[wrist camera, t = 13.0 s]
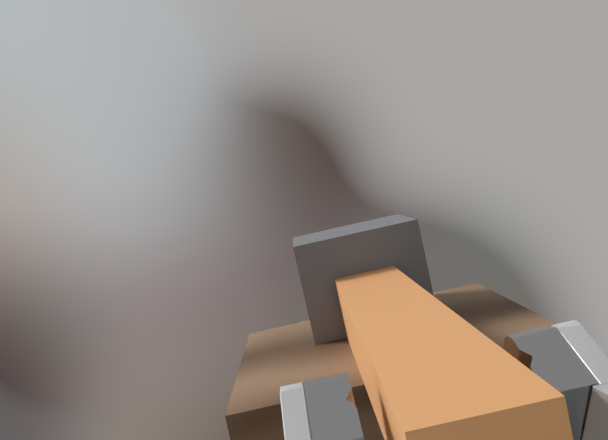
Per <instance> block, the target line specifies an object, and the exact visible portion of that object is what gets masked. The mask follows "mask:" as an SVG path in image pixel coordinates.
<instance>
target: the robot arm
mask: <svg viewBox="0 0 608 440" xmlns="http://www.w3.org/2000/svg"><path fill="white" fill-rule="evenodd" d="M504 349H505V351H506V352H508V353H509V354H510V355H512V356H513V357H514V358H516V359H517V360H518V361H520V362H521V363H522V364H523V365H525V366H526V367H527V368H529V369H530V370H531V371H533V372H534V373H535V374H537V375H538V376H539V377H541V378H542V379H543V380H545V381H546V382H547V383H548V384H550V385H551V386H552V387H554V388H555V389H556V390H558V391H559V392H560V393H562V394H563V395H564V396H565V400H566V405H567V410H568V415H569V420H570V425H571V430H572V435H573V440H608V356H607V355H606V354H605V352H604V351H603V350H602V349H601V348H600V346H599V345H598V344H597V343H596V341H595V340H594V339H593V338H592V337H591V335H590V334H589V333H588V332H587V331H586V329H585V328H584V327H583V326H582V324H581V323H579V322H578V321H576V320H573V321H568V322H564V323H559V324H555V325H551V326H550V325H548V326H544V327H540V328H536V329H532V330H528V331H523V332H519V333H515V334H511V335H507V336H506V338H505V339H504ZM280 401H281V410H282V420H283V429H284V438H285V440H364V436H363V432H362V428H361V424H360V420H359V416H358V411H357V407H356V406H355V401H354V397H353V392H352V388H351V384H350V380H349V376H348V373H344V374H339V375H334V376H329V377H324V378H319V379H314V380H309V381H304V382H300V383H295V384H290V385H286V386H281V387H280Z"/></svg>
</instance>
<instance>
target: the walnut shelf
mask: <svg viewBox="0 0 608 440" xmlns="http://www.w3.org/2000/svg"><path fill="white" fill-rule="evenodd" d="M433 296H434V297H435V298H437V299H438V300H439V301H441V302H442V303H443V304H444V305H446V306H447V307H448V308H450V309H451V310H452V311H454V312H455V313H456V314H458V315H459V316H460V317H462V318H463V319H464V320H466V321H467V322H468V323H469V324H471V325H472V326H473V327H475V328H476V329H477V330H479V331H480V332H481V333H483V334H484V335H485V336H487V337H488V338H489V339H491V340H492V341H493V342H495V343H496V344H497V345H498V346H500V347H501V348H502V349H504V339H505V338H506V336H507V335H511V334H515V333H519V332H523V331H528V330H532V329H536V328H540V327H544V326H548V325H550V326H551V325H555V324H556V323H554V322H552V321H550V320H548V319H546V318H544V317H542V316H541V315H539V314H537V313H535V312H533V311H531V310H529V309H527V308H525V307H523V306H521V305H519V304H517V303H515V302H513V301H511V300H509V299H507V298H505V297H503V296H501V295H499V294H497V293H495V292H493V291H491V290H489V289H488V288H486V287H483V286H482V285H480V284H478V283H473V284H468V285H464V286H460V287H455V288H451V289H446V290H442V291H438V292H433ZM504 350H505V349H504ZM344 373H348V376H349V380H350V384H351V388H352V392H353V397H354V401H355V406H356V407H357V411H358V416H359V420H360V424H361V428H362V432H363V436H364V440H384V437H383V434H382V431H381V429H380V426H379V423H378V420H377V418H376V415H375V412H374V409H373V407H372V404H371V401H370V399H369V396H368V393H367V390H366V388H365V385H364V382H363V379H362V377H361V374H360V371H359V368H358V366H357V363H356V360H355V358H354V355H353V352H352V349H351V347H350V344H349V341H348V338H343V339H339V340H335V341H330V342H326V343H321V344H317V345H315V341H314V337H313V332H312V328H311V324H310V320H308V321H304V322H300V323H295V324H291V325H286V326H282V327H277V328H273V329H269V330H264V331H259V332H255V333H250V335H249V338H248V341H247V345H246V348H245V351H244V355H243V358H242V361H241V365H240V369H239V371H238V375H237V378H236V381H235V385H234V388H233V391H232V395H231V398H230V401H229V405H228V408H227V411H226V415H225V417H226V422H227V426H228V430H229V435H230V439H231V440H285V438H284V429H283V420H282V410H281V401H280V387H281V386H286V385H290V384H295V383H300V382H304V381H309V380H314V379H319V378H324V377H329V376H334V375H339V374H344Z"/></svg>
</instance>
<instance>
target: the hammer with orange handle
mask: <svg viewBox="0 0 608 440" xmlns="http://www.w3.org/2000/svg"><path fill="white" fill-rule="evenodd" d="M293 248H294V252H295V257H296V261H297V266H298V270H299V275H300V279H301V284H302V288H303V292H304V297H305V301H306V306H307V310H308V315H309V319H310V324H311V328H312V332H313V337H314V341H315V345H317V344H321V343H326V342H330V341H335V340H339V339H343V338H348V341H349V344H350V347H351V349H352V352H353V355H354V358H355V360H356V363H357V366H358V368H359V371H360V374H361V377H362V379H363V382H364V385H365V388H366V390H367V393H368V396H369V399H370V401H371V404H372V407H373V409H374V412H375V415H376V418H377V420H378V423H379V426H380V429H381V431H382V434H383V437H384V440H573V435H572V430H571V425H570V420H569V415H568V410H567V405H566V400H565V396H564V395H563V394H562V393H560V392H559V391H558V390H556V389H555V388H554V387H552V386H551V385H550V384H548V383H547V382H546V381H545V380H543V379H542V378H541V377H539V376H538V375H537V374H535V373H534V372H533V371H531V370H530V369H529V368H527V367H526V366H525V365H523V364H522V363H521V362H520V361H518V360H517V359H516V358H514V357H513V356H512V355H510V354H509V353H508V352H506V351H505V350H504V349H502V348H501V347H500V346H498V345H497V344H496V343H495V342H493V341H492V340H491V339H489V338H488V337H487V336H485V335H484V334H483V333H481V332H480V331H479V330H477V329H476V328H475V327H473V326H472V325H471V324H469V323H468V322H467V321H466V320H464V319H463V318H462V317H460V316H459V315H458V314H456V313H455V312H454V311H452V310H451V309H450V308H448V307H447V306H446V305H444V304H443V303H442V302H441V301H439V300H438V299H437V298H435V297H434V296H433V291H432V286H431V281H430V277H429V272H428V267H427V262H426V258H425V253H424V248H423V243H422V238H421V234H420V229H419V224H418V219H414V218H410V217H406V216H402V215H398V214H397V215H392V216H388V217H383V218H379V219H374V220H370V221H365V222H361V223H356V224H352V225H347V226H343V227H339V228H334V229H329V230H325V231H321V232H316V233H312V234H307V235H303V236H298V237H294V238H293Z"/></svg>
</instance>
